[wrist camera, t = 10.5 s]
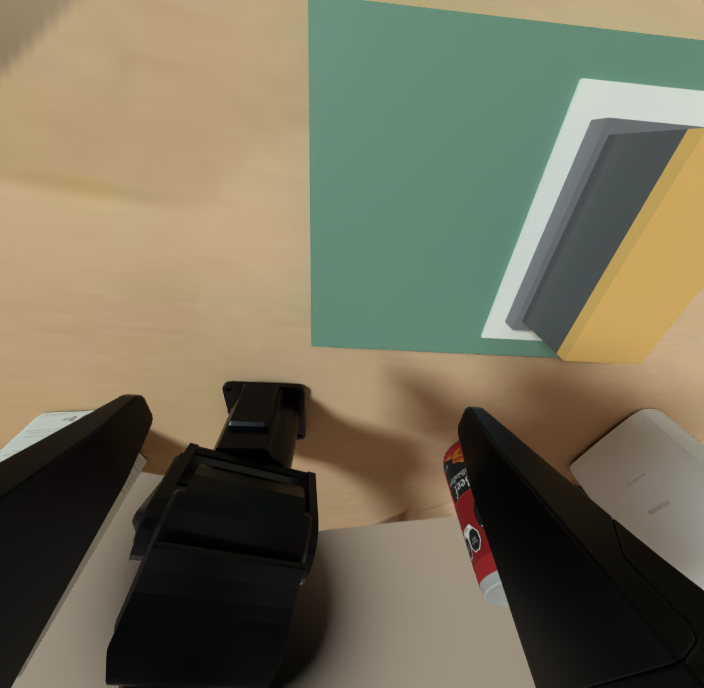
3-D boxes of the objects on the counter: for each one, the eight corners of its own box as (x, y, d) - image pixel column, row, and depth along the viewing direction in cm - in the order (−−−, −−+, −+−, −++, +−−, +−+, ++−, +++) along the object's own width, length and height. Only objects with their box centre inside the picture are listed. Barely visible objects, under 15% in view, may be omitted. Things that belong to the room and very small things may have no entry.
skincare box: (41, 411, 25) (-264, 670, 12) (109, 406, 24) (-132, 664, 12) (97, 467, 29) (-83, 695, 17) (154, 463, 29) (14, 691, 17)
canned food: (500, 420, 26) (582, 560, 17) (526, 460, 30) (604, 594, 21) (427, 451, 29) (465, 588, 20) (459, 485, 33) (504, 614, 23)
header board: (573, 347, 22) (636, 401, 17) (313, 334, 21) (304, 388, 16) (750, 61, 13) (983, 7, 8) (312, 10, 12) (289, -84, 7)
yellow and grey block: (584, 324, 18) (639, 364, 14) (521, 320, 17) (563, 360, 14) (695, 142, 12) (822, 139, 9) (608, 134, 12) (707, 127, 9)
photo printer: (639, 402, 25) (837, 570, 15) (674, 411, 26) (884, 576, 16) (559, 466, 31) (665, 622, 21) (590, 473, 32) (707, 625, 21)
